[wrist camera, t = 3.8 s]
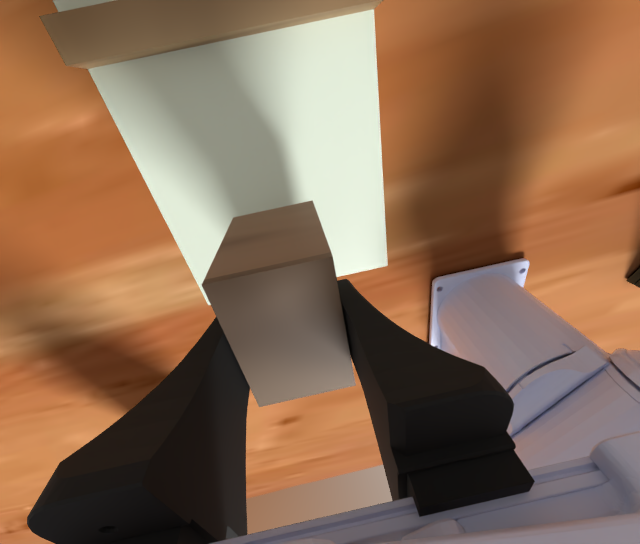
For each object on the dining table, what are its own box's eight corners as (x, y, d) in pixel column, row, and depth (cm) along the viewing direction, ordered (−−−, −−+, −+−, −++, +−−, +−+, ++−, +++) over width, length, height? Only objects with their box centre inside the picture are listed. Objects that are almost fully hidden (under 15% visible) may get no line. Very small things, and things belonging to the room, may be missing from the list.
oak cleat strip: (374, 9, 13) (384, -1, 11) (87, 68, 12) (66, 65, 11) (371, -39, 12) (382, -55, 10) (65, 25, 12) (39, 16, 10)
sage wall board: (381, 255, 21) (387, 265, 20) (212, 292, 21) (208, 305, 20) (360, -49, 13) (369, -65, 11) (75, 10, 12) (52, 0, 11)
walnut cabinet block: (331, 297, 17) (355, 385, 11) (266, 312, 17) (259, 406, 11) (312, 200, 14) (332, 256, 8) (233, 217, 14) (201, 284, 8)
